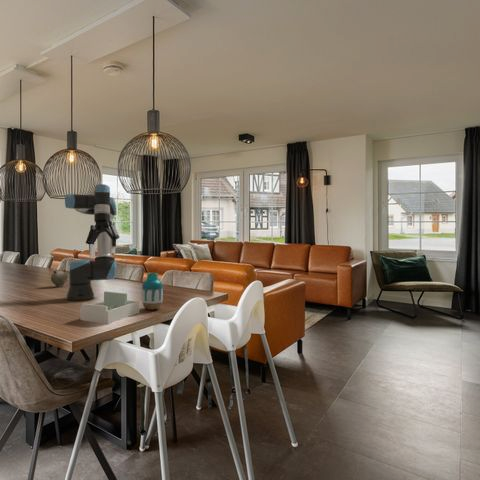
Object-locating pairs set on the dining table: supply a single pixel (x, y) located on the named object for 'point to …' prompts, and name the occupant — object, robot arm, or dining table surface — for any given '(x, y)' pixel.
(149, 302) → the vase
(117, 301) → the pusher
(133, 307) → the pusher lane
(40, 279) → the dining table surface
